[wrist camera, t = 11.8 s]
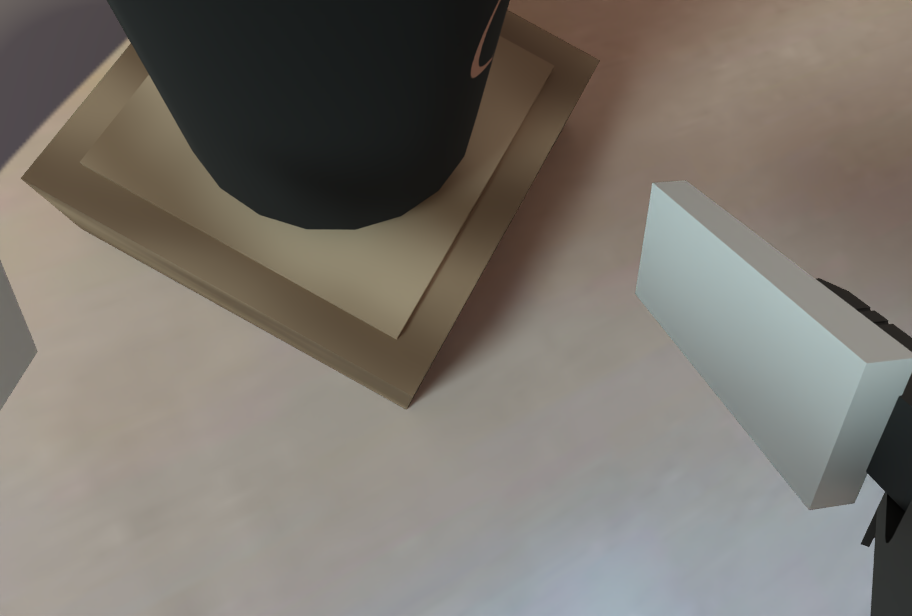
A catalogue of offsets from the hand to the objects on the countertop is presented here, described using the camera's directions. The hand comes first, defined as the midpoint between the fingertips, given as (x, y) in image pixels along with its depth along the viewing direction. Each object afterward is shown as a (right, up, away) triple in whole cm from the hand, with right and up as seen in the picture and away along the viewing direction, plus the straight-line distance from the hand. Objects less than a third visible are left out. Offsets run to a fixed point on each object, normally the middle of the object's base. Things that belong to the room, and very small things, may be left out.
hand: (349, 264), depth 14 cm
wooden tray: (-3, +5, +17) cm, 18 cm away
